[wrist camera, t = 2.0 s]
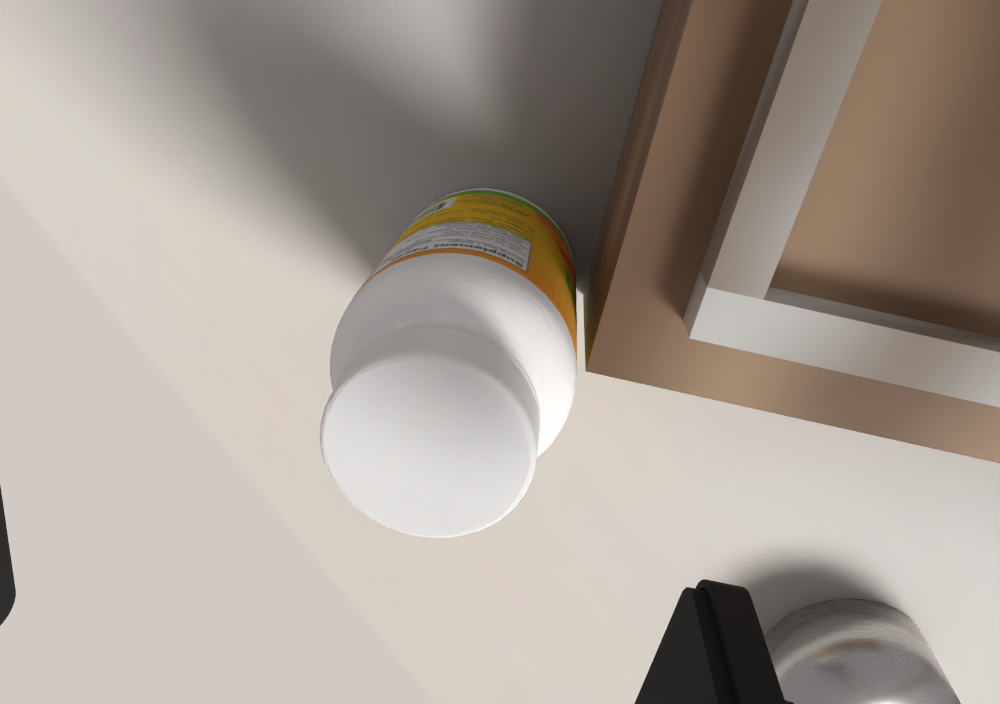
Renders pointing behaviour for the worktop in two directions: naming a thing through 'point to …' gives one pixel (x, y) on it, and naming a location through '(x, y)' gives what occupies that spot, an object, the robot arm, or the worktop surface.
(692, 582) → the worktop surface
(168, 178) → the worktop surface
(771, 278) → the walnut stand
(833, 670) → the metal tin
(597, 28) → the worktop surface
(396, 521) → the supplement bottle
